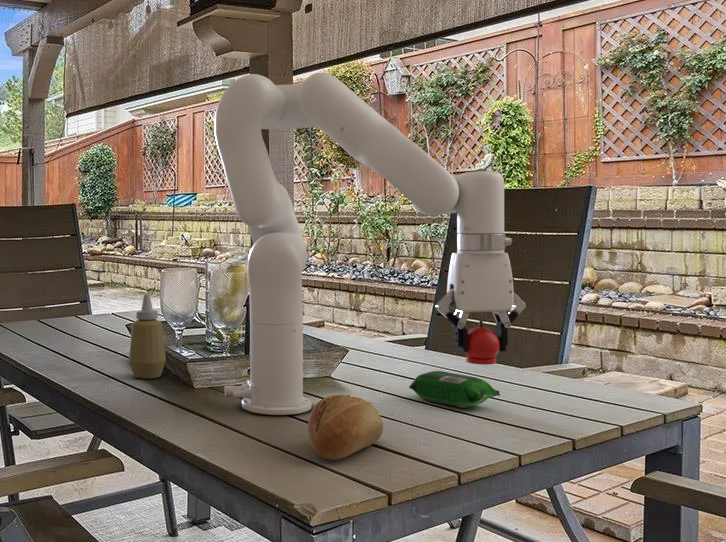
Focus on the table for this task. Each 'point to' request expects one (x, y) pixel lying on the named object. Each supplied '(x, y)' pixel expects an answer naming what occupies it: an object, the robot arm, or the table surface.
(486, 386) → the snack package
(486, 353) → the candle
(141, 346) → the squeeze bottle
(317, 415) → the bread roll
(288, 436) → the table surface
